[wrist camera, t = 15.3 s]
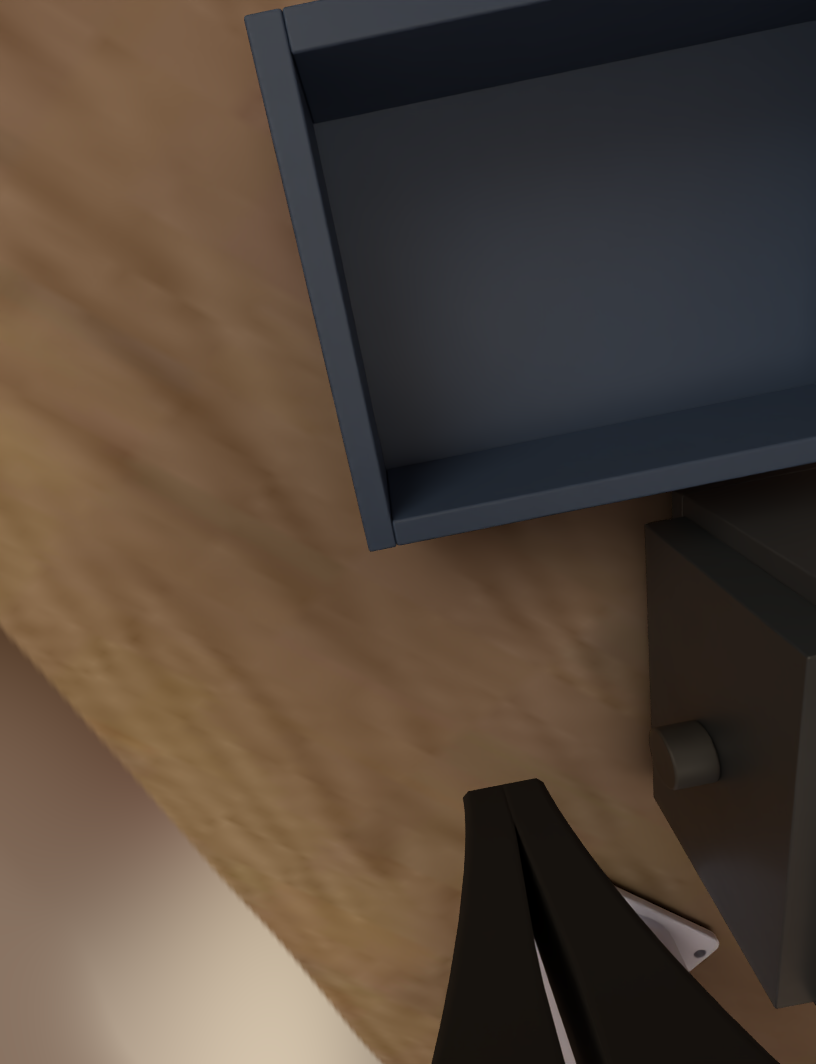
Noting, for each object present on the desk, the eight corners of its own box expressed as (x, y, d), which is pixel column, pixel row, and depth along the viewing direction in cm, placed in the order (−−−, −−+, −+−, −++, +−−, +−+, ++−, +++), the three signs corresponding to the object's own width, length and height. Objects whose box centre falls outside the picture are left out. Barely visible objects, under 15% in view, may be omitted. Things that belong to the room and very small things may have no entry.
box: (368, 487, 17) (369, 553, 12) (283, 105, 13) (242, 14, 9) (824, 395, 16) (983, 430, 12) (860, -14, 13) (1101, -166, 9)
